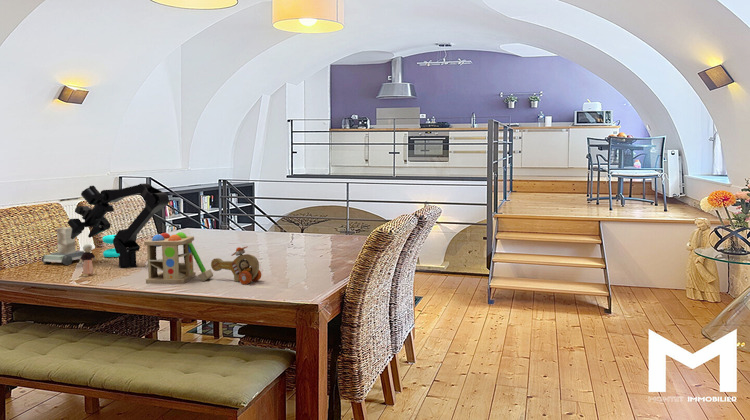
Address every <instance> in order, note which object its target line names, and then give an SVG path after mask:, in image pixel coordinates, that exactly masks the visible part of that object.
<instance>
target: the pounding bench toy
mask: <svg viewBox="0 0 750 420" xmlns="http://www.w3.org/2000/svg"><path fill="white" fill-rule="evenodd" d="M193 241H195V237H194V235H193V236H190V235H189V236H187V234H186V233H184V232H182V231H181V232H179V231H178V232H177V233H176V234H172V235H170V234H169V233H167V232H162V233H160V234H155V235H154V236H152V238H150V239H147V240H144V242H143V245H144V246H146V248H147V271H148V274H147V275H148V278H146V279H145V284H185V283H187V282H188V281H190V280H192V279H193V278H194V277H196V271H195V270H194V260H195V262H196V264H197V266H198V268H199V270H200V273H199V274H197V276H198V278H199V280H200V282H205V281H207V280H209V279H211V278H213V276H214V273H213V271H212V270H211V269H212V268H211V269H207V270H206V268H205V266H204V264H203V261H202V260H201V257H200V256H199V254H198V251H197V250H196V248H195V247H194V243H193ZM180 246H182V248H183V251H182V252H183V253H181V254H179V247H180ZM158 247H161V256H162V259H161V258H160V259H157V248H158ZM182 257H183V262H180V261H179V260H180V258H182ZM158 270H160V271H162V272H158Z"/></svg>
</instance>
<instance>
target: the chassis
mask: <svg viewBox="0 0 750 420" xmlns="http://www.w3.org/2000/svg"><path fill="white" fill-rule="evenodd" d="M83 253H85V251H84V250H77V249H76V252H75V253H69V254H59V253H58V251H56V252H51V253H49V254H44V255H42V257H41V261H42V264H45V265H47V264H48V265H49V264H51V263H61V264H62V265H64V266H70V265H71V264H72V263H73V261H74V260H75V261H76V260H80V258H81V257H82V255H83Z"/></svg>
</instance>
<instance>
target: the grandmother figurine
mask: <svg viewBox="0 0 750 420" xmlns="http://www.w3.org/2000/svg"><path fill="white" fill-rule="evenodd" d="M92 248H93V247H92V245H91V244H90V243H85V244H84V245H83V246H82V251H85V253H83V255H82V257H81V258H80V259H79V262H78V265H82V264H83V265H82V277H89V276H94V275H95V274H94V266H93V261H95V262H96V261H97V258H96V256H95V254H94V253H93V252H91V251H92ZM92 260H93V261H92Z"/></svg>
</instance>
